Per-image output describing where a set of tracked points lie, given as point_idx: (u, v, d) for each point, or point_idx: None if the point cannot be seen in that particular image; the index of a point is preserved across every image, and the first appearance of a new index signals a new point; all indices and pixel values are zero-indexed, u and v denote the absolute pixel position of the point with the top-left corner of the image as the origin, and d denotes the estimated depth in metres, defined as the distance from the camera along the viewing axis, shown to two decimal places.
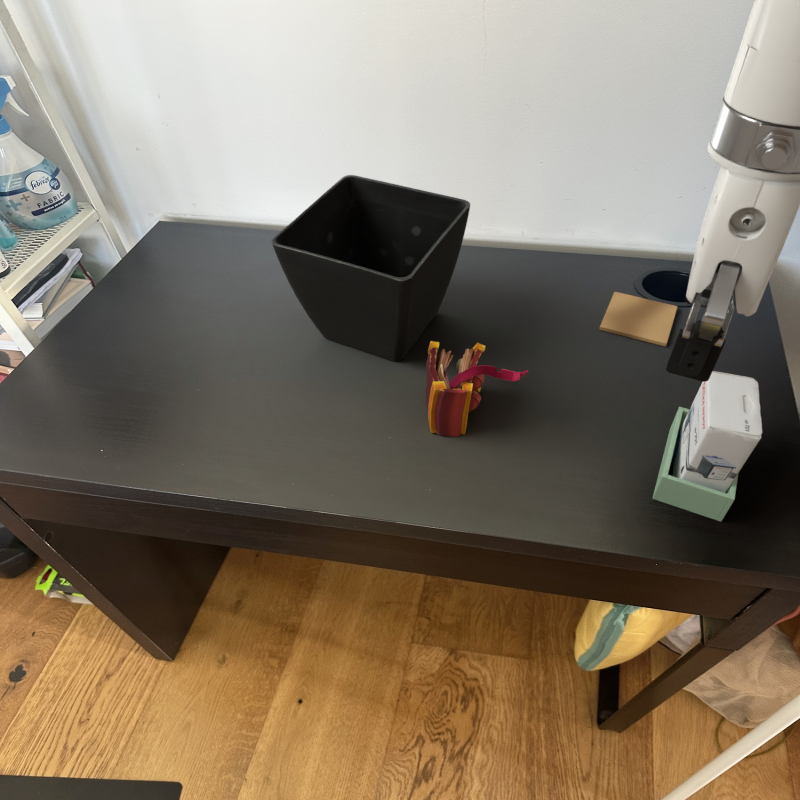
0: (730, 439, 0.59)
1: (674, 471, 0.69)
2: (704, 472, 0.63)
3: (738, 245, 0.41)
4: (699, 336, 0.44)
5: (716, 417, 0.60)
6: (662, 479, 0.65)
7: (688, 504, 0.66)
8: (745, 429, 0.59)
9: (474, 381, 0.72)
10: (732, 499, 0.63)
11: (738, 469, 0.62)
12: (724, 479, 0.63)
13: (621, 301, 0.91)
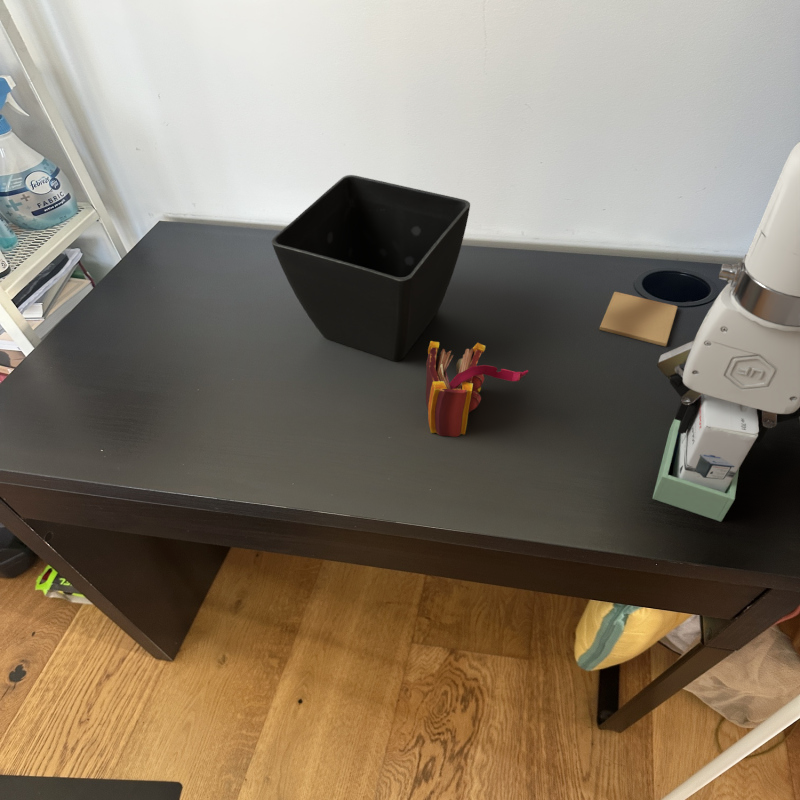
0: (726, 438, 0.59)
1: (674, 471, 0.69)
2: (702, 472, 0.63)
3: (701, 325, 0.58)
4: None
5: (712, 416, 0.60)
6: (662, 479, 0.65)
7: (688, 504, 0.66)
8: (742, 427, 0.59)
9: (474, 381, 0.72)
10: (732, 499, 0.63)
11: (736, 468, 0.62)
12: (723, 478, 0.63)
13: (621, 301, 0.91)
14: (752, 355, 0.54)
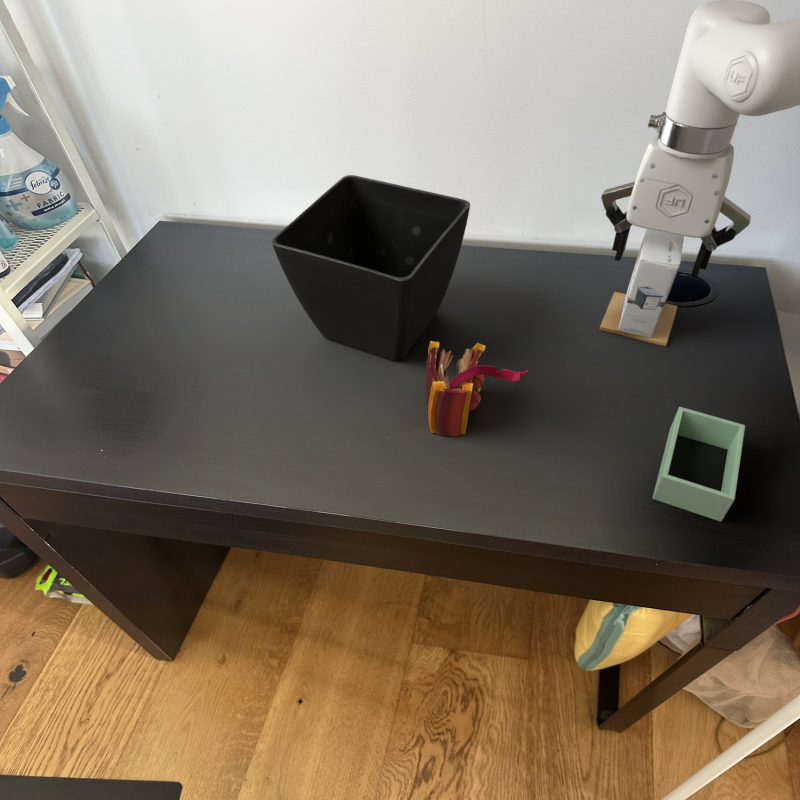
0: (656, 269, 0.78)
1: None
2: (639, 303, 0.82)
3: None
4: None
5: (647, 254, 0.79)
6: (662, 479, 0.65)
7: (688, 504, 0.66)
8: (667, 261, 0.77)
9: (474, 381, 0.72)
10: (732, 499, 0.63)
11: (664, 298, 0.80)
12: (655, 308, 0.82)
13: (621, 301, 0.91)
14: (674, 186, 0.72)
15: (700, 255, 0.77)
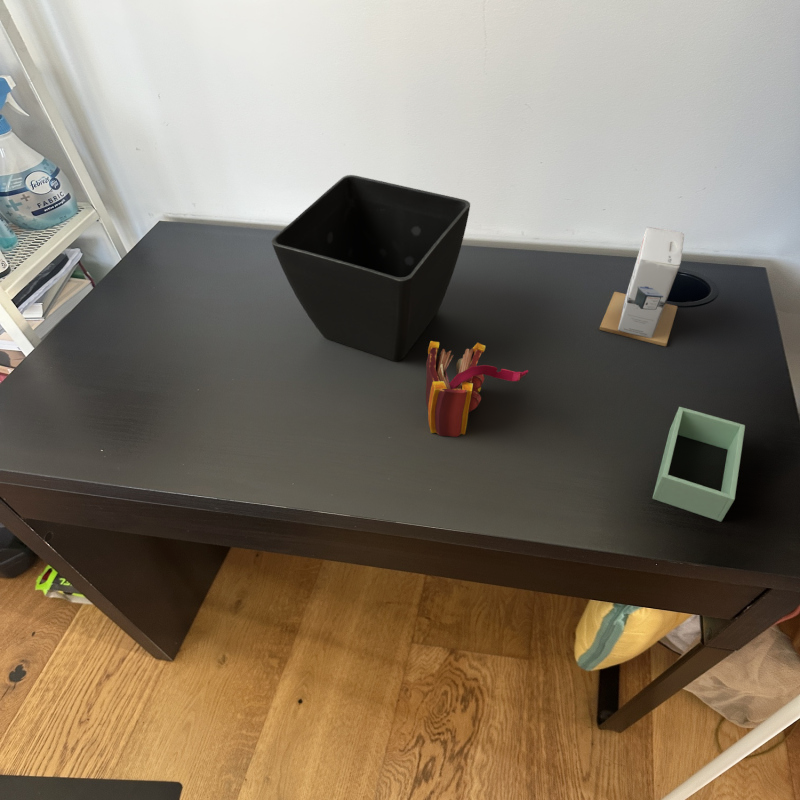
0: (656, 269, 0.78)
1: None
2: (640, 303, 0.82)
3: None
4: None
5: (647, 254, 0.79)
6: (662, 479, 0.65)
7: (688, 504, 0.66)
8: (668, 261, 0.77)
9: (474, 381, 0.72)
10: (732, 499, 0.63)
11: (665, 298, 0.80)
12: (655, 308, 0.82)
13: (621, 301, 0.91)
14: None
15: None
